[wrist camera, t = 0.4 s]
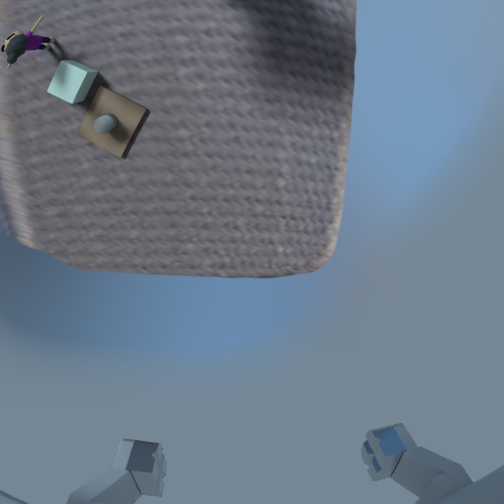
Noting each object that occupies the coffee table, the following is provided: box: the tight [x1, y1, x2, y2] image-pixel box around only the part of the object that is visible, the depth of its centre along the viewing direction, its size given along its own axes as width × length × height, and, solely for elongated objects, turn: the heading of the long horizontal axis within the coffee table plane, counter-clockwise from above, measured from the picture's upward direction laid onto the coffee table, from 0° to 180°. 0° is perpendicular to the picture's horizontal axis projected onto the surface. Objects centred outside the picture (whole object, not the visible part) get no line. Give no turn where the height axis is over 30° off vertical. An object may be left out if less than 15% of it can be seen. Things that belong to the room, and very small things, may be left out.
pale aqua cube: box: [47, 60, 98, 104], centre depth 40 cm, size 6×6×5 cm
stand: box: [77, 86, 147, 158], centre depth 45 cm, size 10×10×5 cm
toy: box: [1, 16, 55, 68], centre depth 31 cm, size 10×6×15 cm, turn 132°
